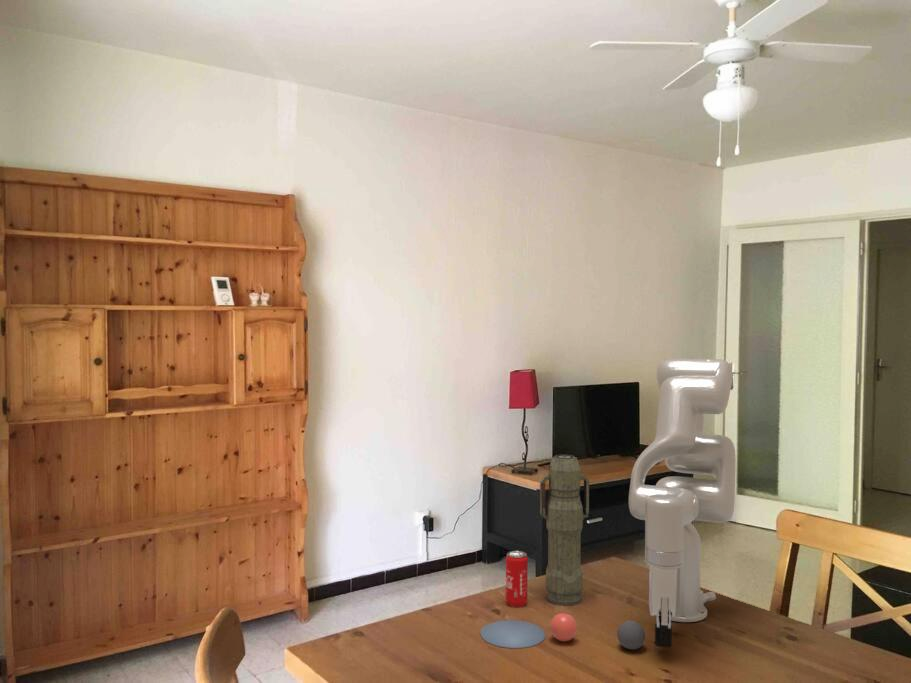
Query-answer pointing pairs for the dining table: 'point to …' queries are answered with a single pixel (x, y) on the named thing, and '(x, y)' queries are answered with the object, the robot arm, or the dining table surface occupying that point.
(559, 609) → the dining table surface
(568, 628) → the red ball
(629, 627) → the gray ball
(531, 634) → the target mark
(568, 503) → the thermos
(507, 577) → the beverage can
